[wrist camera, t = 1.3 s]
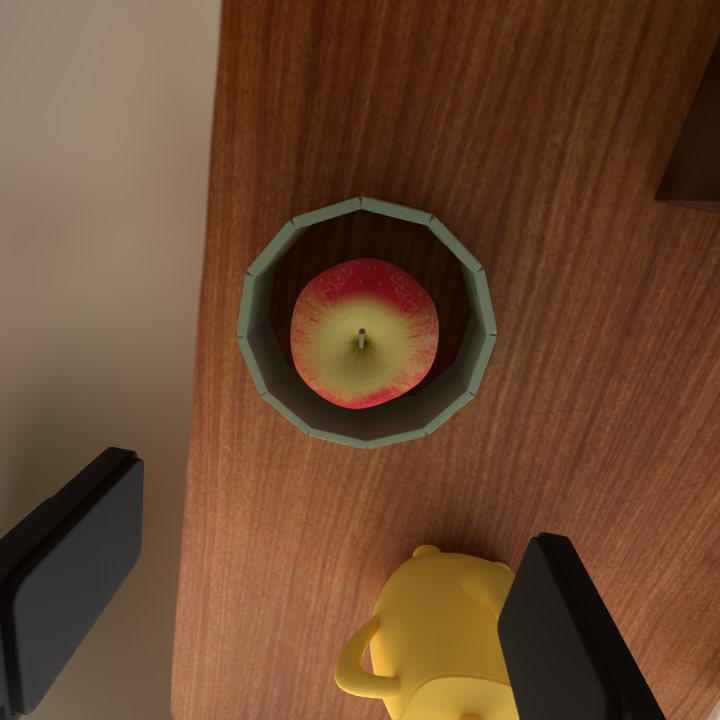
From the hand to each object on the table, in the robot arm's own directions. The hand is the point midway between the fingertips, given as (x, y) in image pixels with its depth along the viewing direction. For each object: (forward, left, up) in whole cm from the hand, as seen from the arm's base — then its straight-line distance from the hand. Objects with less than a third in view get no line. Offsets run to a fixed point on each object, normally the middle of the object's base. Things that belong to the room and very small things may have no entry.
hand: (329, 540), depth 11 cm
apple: (0, 0, -21) cm, 21 cm away
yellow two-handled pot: (+23, +1, -21) cm, 31 cm away
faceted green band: (0, 0, -21) cm, 21 cm away
